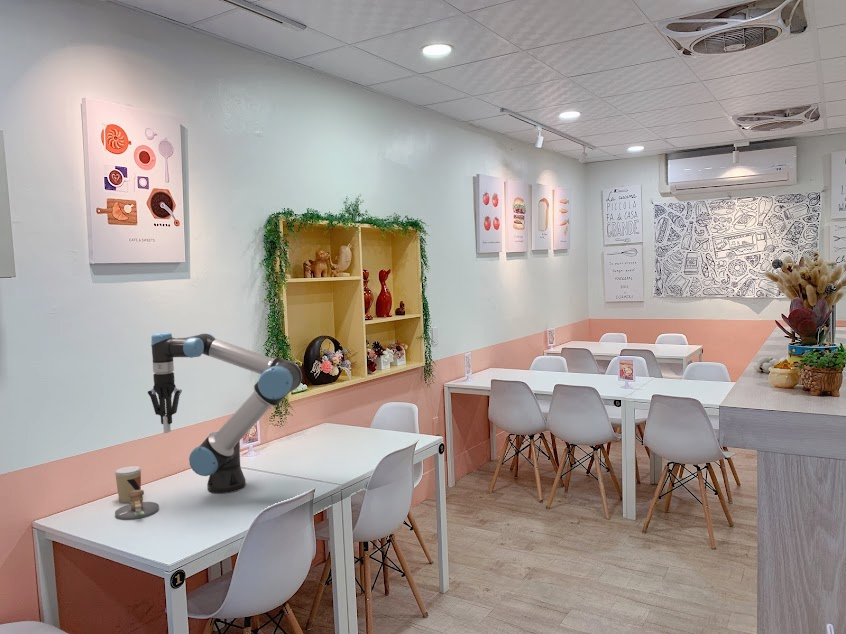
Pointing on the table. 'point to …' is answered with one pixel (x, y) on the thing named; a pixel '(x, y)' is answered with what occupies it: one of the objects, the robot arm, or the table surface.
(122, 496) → the coffee cup
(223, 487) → the robot arm
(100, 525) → the table surface
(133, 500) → the peg dial
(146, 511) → the plate
